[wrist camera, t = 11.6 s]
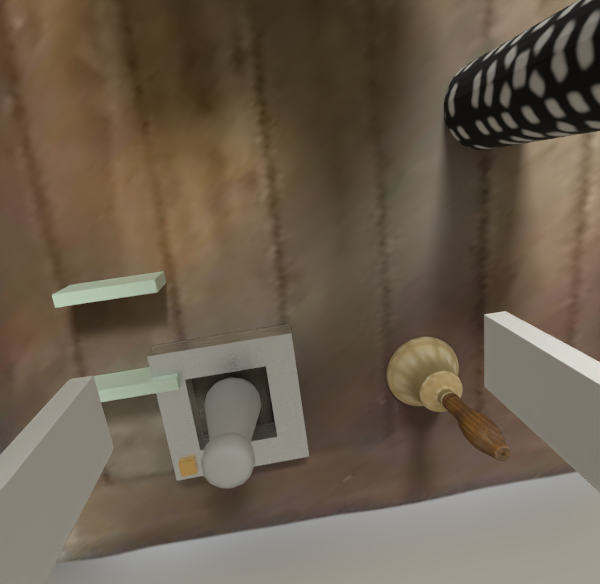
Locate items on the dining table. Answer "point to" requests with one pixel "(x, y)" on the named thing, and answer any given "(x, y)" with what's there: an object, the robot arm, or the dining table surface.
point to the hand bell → (441, 390)
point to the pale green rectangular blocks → (130, 380)
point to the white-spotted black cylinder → (531, 84)
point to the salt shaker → (230, 432)
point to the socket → (222, 359)
